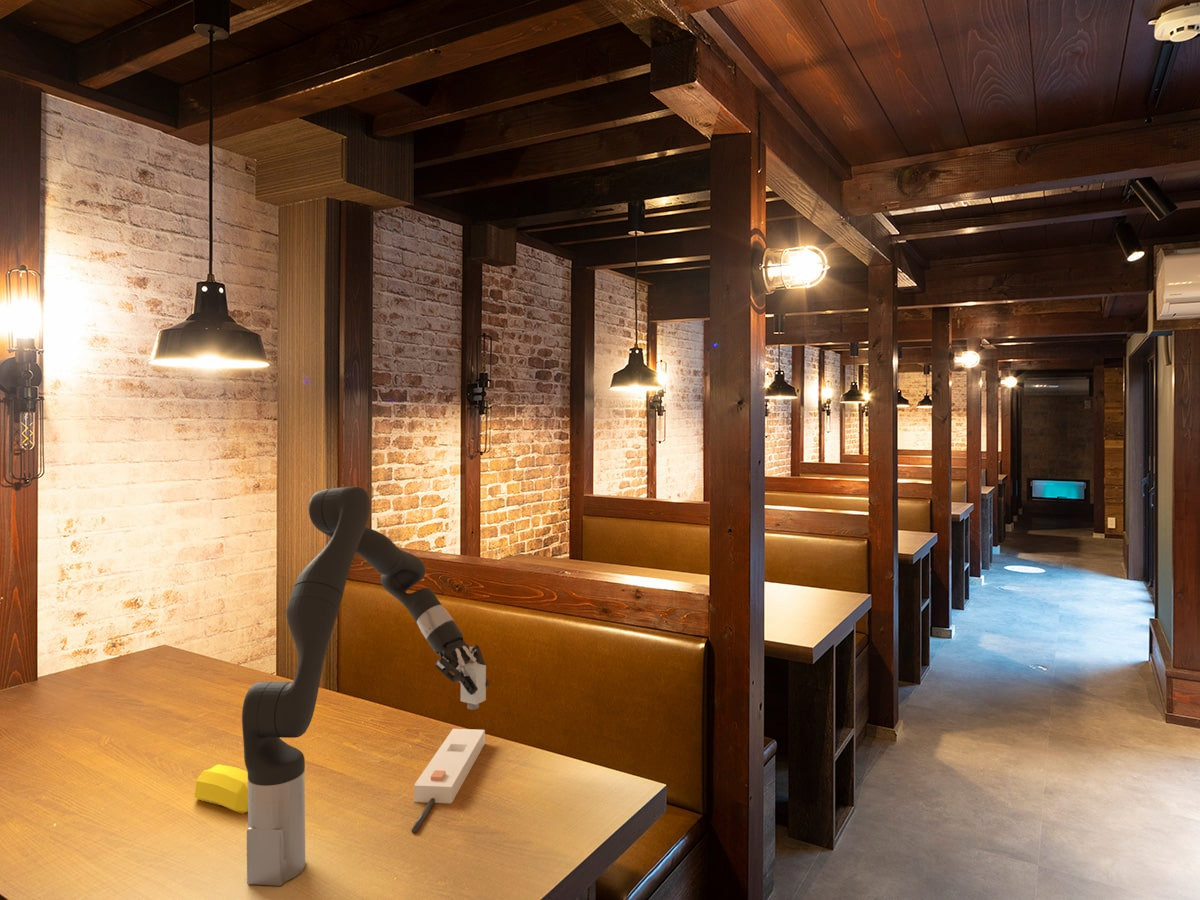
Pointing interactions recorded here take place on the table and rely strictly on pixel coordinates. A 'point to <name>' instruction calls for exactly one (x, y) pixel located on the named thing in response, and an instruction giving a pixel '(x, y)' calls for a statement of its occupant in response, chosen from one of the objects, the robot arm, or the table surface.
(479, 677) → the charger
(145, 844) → the table surface
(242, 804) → the yellow banana
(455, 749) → the power strip
